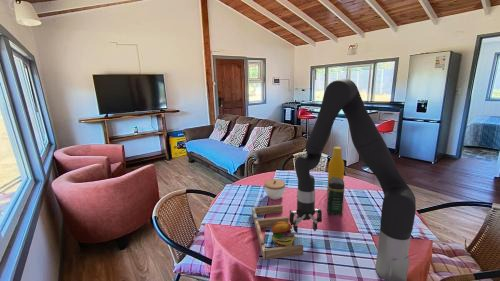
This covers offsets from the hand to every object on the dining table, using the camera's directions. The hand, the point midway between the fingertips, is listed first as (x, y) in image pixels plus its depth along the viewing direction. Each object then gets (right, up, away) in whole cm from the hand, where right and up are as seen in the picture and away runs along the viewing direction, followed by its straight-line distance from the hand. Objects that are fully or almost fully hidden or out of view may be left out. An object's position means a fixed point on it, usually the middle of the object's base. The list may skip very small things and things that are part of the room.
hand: (305, 230), depth 107 cm
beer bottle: (+29, +8, +44) cm, 54 cm away
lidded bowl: (-9, +6, +40) cm, 41 cm away
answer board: (-13, -3, +5) cm, 14 cm away
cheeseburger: (-10, -5, -1) cm, 11 cm away
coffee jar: (+21, +2, +22) cm, 30 cm away
